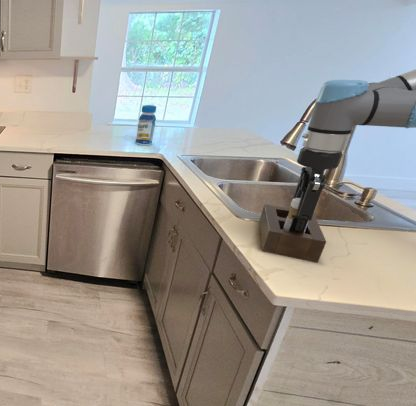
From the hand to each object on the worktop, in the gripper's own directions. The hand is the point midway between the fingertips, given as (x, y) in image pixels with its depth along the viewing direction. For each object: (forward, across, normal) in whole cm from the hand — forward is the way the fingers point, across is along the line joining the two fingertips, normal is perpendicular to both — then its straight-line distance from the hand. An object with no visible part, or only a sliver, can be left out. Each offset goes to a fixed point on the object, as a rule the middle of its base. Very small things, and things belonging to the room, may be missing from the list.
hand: (291, 236), depth 95 cm
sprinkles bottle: (+4, 0, 0) cm, 4 cm away
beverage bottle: (+3, -97, -53) cm, 111 cm away
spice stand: (+3, -4, 0) cm, 5 cm away
